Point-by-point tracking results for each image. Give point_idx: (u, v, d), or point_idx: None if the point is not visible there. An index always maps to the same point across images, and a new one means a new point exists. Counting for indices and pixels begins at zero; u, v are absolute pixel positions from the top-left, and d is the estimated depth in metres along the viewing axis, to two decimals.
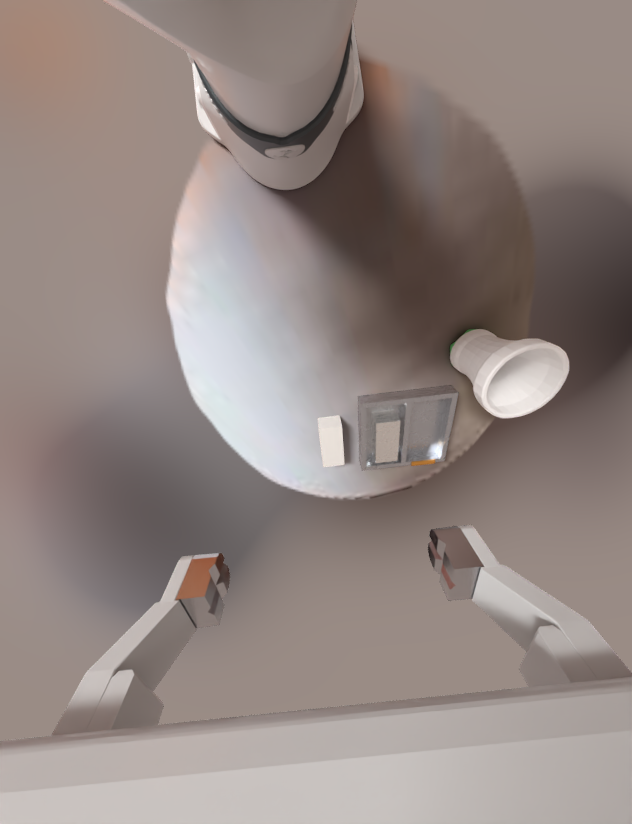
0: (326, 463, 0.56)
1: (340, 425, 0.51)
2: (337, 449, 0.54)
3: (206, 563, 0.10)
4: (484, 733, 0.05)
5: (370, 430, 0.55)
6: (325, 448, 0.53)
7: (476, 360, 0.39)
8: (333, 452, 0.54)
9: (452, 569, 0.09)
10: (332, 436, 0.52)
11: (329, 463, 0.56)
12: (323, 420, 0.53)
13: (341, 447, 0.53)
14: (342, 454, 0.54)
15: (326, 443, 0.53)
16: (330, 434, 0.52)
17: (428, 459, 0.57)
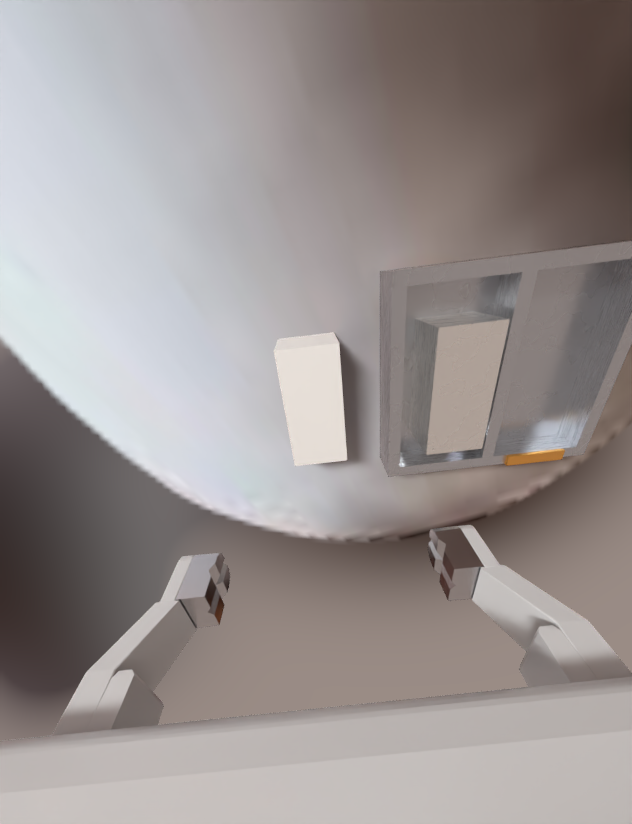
0: (302, 456, 0.22)
1: (334, 342, 0.18)
2: (328, 416, 0.21)
3: (206, 563, 0.10)
4: (484, 733, 0.05)
5: (410, 374, 0.23)
6: (297, 413, 0.21)
7: None
8: (317, 424, 0.21)
9: (452, 569, 0.09)
10: (313, 376, 0.19)
11: (310, 457, 0.23)
12: (291, 340, 0.21)
13: (338, 411, 0.21)
14: (341, 431, 0.21)
15: (299, 399, 0.20)
16: (307, 370, 0.19)
17: (547, 449, 0.24)
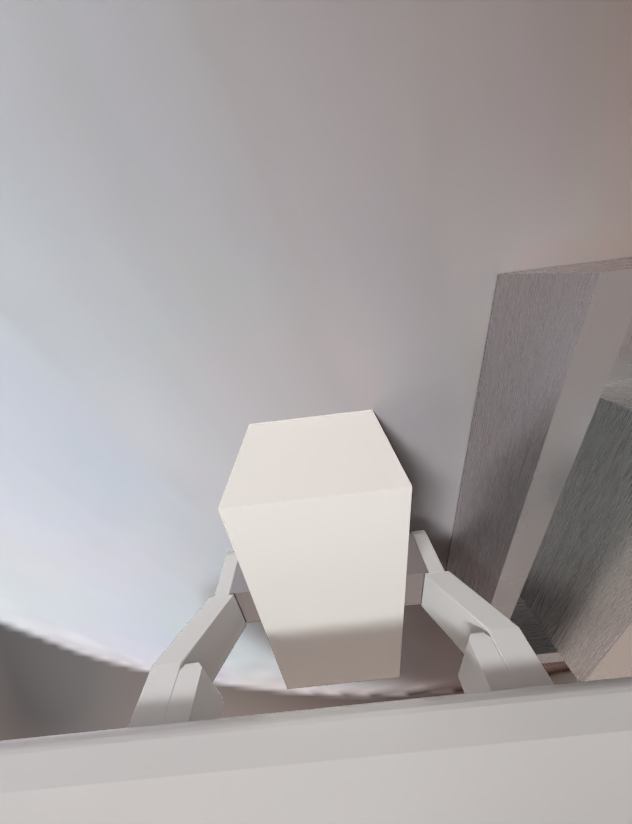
0: (303, 676, 0.10)
1: (396, 478, 0.06)
2: (366, 621, 0.09)
3: None
4: (484, 733, 0.05)
5: None
6: (291, 619, 0.08)
7: None
8: (338, 633, 0.09)
9: None
10: (333, 556, 0.07)
11: (321, 677, 0.10)
12: (276, 440, 0.09)
13: (391, 612, 0.08)
14: (393, 641, 0.09)
15: (294, 597, 0.08)
16: (316, 545, 0.07)
17: None
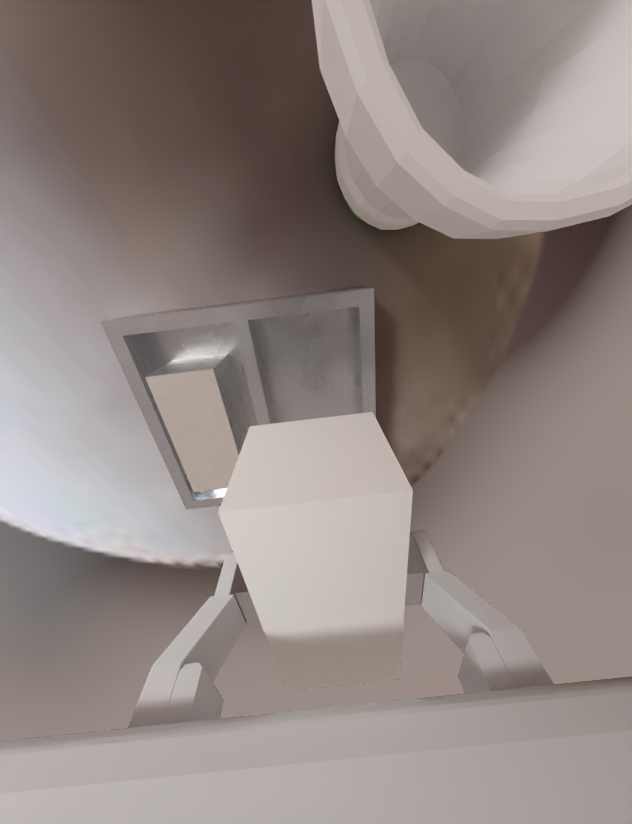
0: (303, 679, 0.10)
1: (396, 482, 0.06)
2: (366, 624, 0.09)
3: None
4: (484, 733, 0.05)
5: None
6: (291, 623, 0.08)
7: None
8: (338, 636, 0.09)
9: None
10: (334, 560, 0.07)
11: (320, 679, 0.10)
12: (277, 443, 0.09)
13: (391, 615, 0.08)
14: (393, 644, 0.09)
15: (294, 600, 0.08)
16: (317, 549, 0.07)
17: None
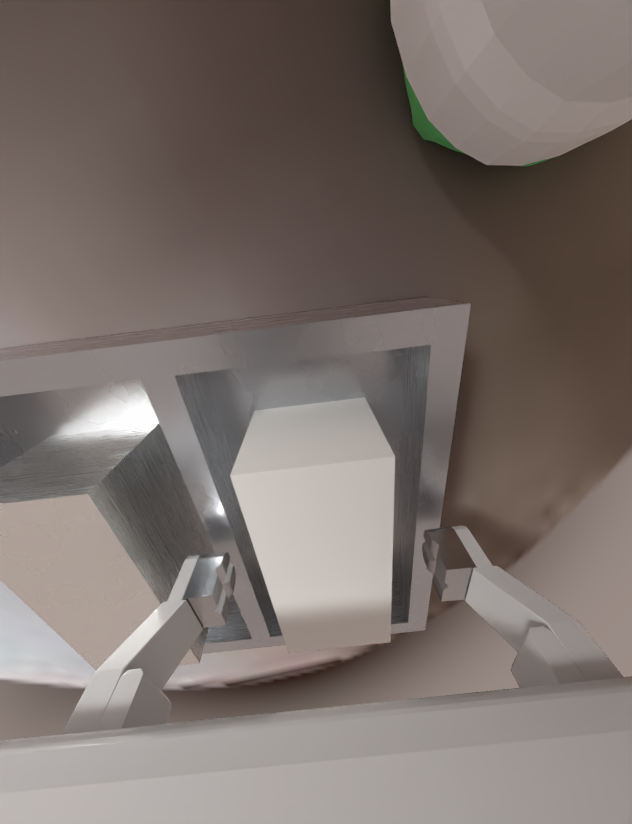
0: (302, 640, 0.11)
1: (382, 450, 0.07)
2: (358, 584, 0.10)
3: (212, 562, 0.10)
4: (484, 733, 0.05)
5: None
6: (292, 582, 0.09)
7: None
8: (334, 596, 0.10)
9: (445, 570, 0.09)
10: (329, 521, 0.08)
11: (319, 641, 0.11)
12: (279, 423, 0.10)
13: (381, 575, 0.10)
14: (384, 605, 0.10)
15: (294, 560, 0.09)
16: (314, 511, 0.08)
17: None
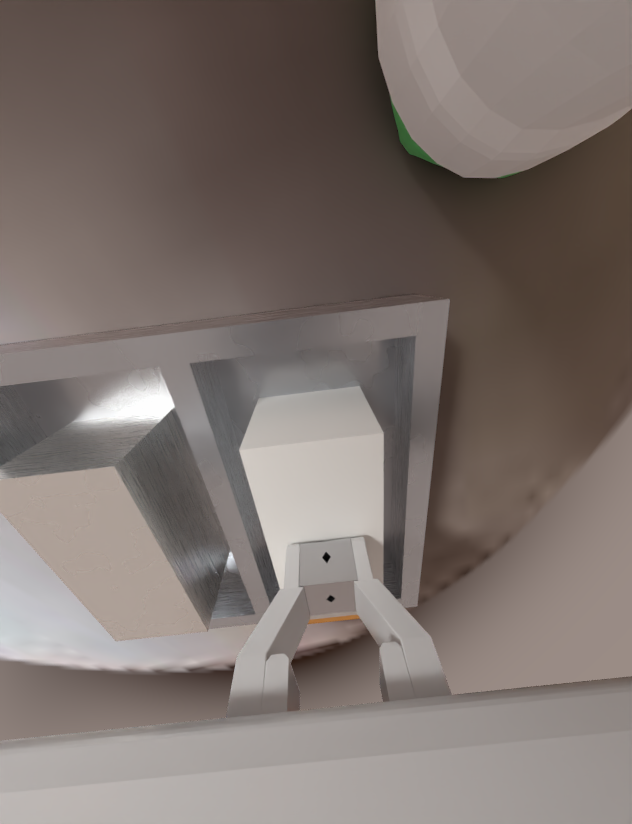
0: None
1: (372, 428, 0.09)
2: None
3: (317, 551, 0.10)
4: (484, 733, 0.05)
5: None
6: None
7: None
8: None
9: (328, 582, 0.09)
10: (326, 493, 0.09)
11: None
12: (281, 408, 0.11)
13: (373, 545, 0.11)
14: (376, 574, 0.11)
15: (295, 530, 0.10)
16: (313, 483, 0.09)
17: None
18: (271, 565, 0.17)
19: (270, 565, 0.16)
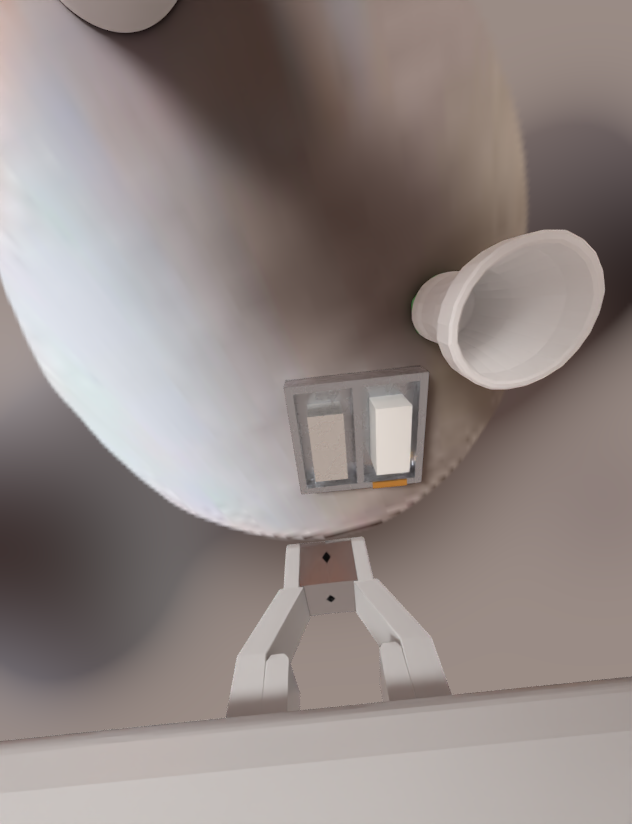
0: (382, 469, 0.36)
1: (409, 404, 0.33)
2: (401, 445, 0.35)
3: (316, 551, 0.10)
4: (484, 733, 0.05)
5: None
6: (383, 443, 0.35)
7: (442, 297, 0.24)
8: (394, 449, 0.35)
9: (328, 582, 0.09)
10: (395, 422, 0.33)
11: (387, 470, 0.36)
12: (379, 400, 0.35)
13: (407, 442, 0.35)
14: (408, 454, 0.35)
15: (385, 435, 0.34)
16: (392, 419, 0.33)
17: (397, 479, 0.39)
18: None
19: None
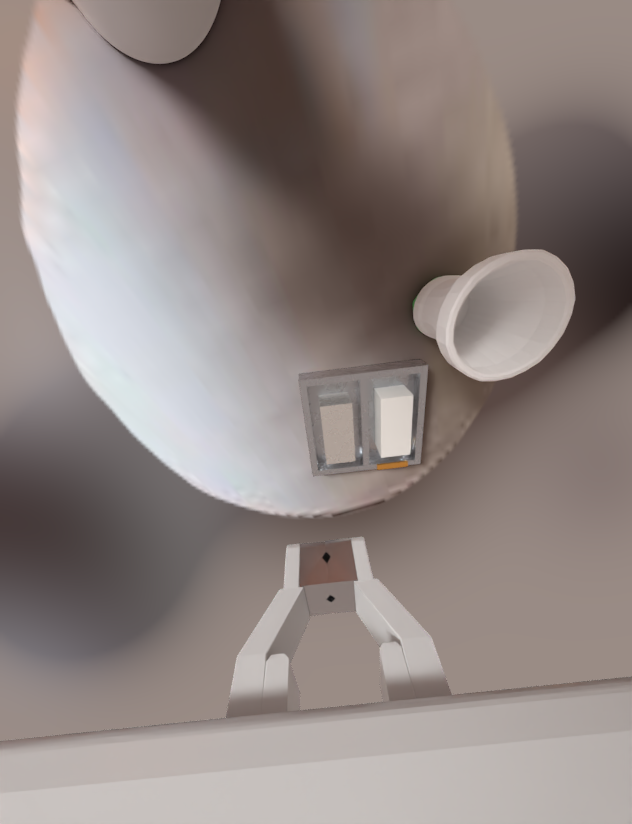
0: (386, 452, 0.41)
1: (410, 394, 0.37)
2: (403, 430, 0.39)
3: (317, 551, 0.10)
4: (484, 733, 0.05)
5: (320, 421, 0.42)
6: (387, 429, 0.39)
7: (440, 301, 0.28)
8: (396, 434, 0.39)
9: (328, 582, 0.09)
10: (398, 410, 0.38)
11: (390, 452, 0.41)
12: (383, 390, 0.39)
13: (409, 427, 0.39)
14: (409, 438, 0.40)
15: (389, 422, 0.38)
16: (395, 408, 0.37)
17: (399, 461, 0.44)
18: None
19: None
